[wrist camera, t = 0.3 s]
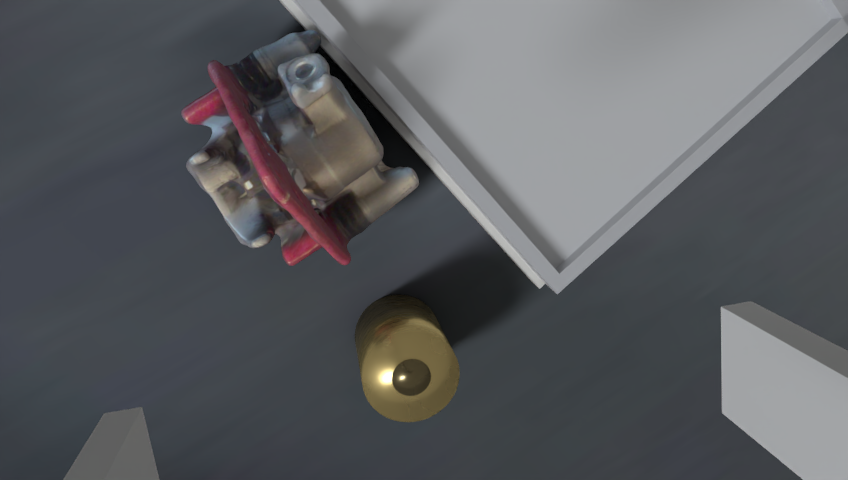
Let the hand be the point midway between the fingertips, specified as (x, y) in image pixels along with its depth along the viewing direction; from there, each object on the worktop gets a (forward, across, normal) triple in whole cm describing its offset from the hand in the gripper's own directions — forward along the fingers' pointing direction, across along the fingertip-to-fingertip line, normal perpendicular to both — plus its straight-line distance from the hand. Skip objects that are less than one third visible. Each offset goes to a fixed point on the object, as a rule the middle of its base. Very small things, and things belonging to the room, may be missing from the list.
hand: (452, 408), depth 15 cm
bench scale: (+24, +10, +11) cm, 29 cm away
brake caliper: (+25, -4, +4) cm, 25 cm away
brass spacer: (+24, +1, -8) cm, 26 cm away
